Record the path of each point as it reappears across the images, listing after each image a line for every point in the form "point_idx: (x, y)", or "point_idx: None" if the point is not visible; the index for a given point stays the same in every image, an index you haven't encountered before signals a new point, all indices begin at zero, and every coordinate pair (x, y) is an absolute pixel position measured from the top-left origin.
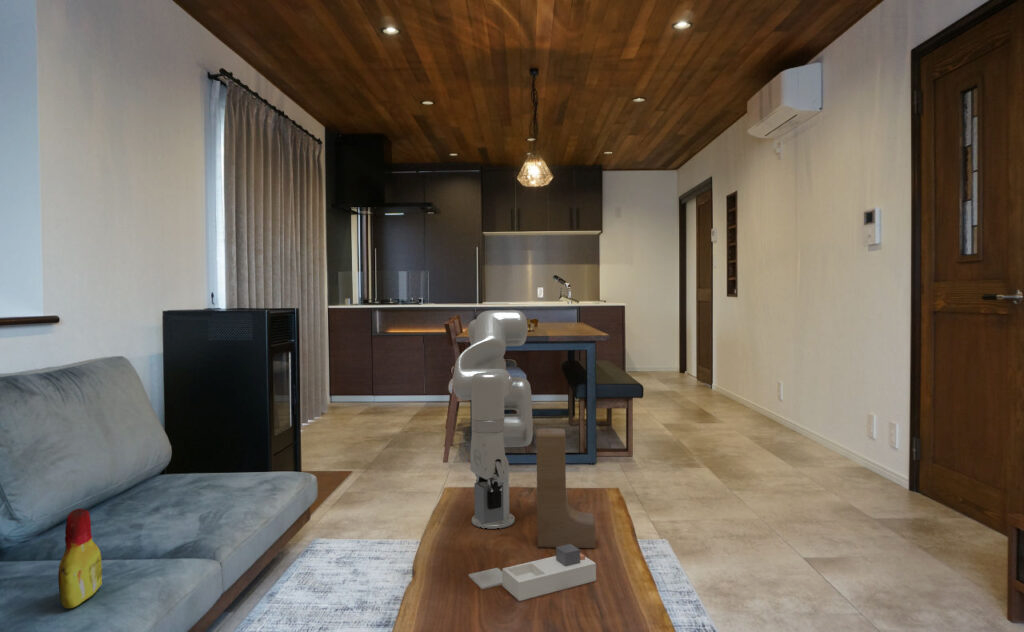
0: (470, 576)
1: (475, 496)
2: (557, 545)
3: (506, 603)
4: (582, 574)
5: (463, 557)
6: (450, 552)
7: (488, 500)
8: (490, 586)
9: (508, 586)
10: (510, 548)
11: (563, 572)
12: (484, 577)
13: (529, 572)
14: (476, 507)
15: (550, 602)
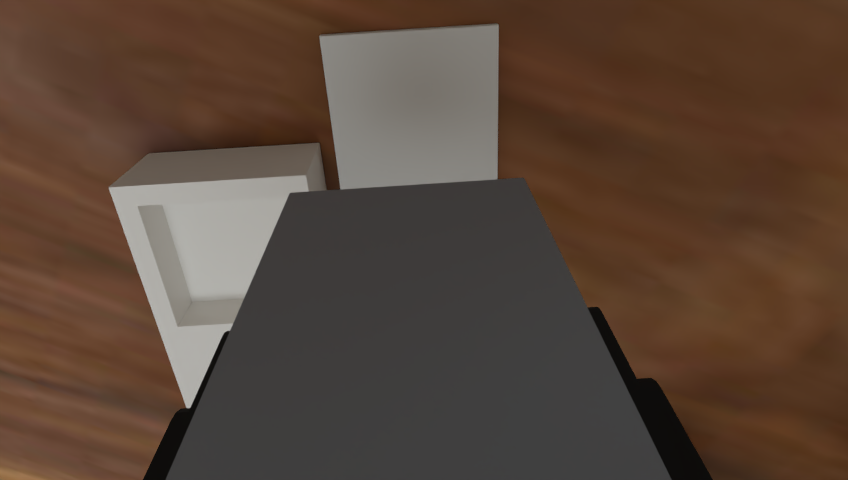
0: (471, 26)
1: (554, 323)
2: None
3: (141, 91)
4: None
5: (731, 83)
6: (843, 37)
7: (188, 414)
8: (326, 85)
9: (249, 154)
10: (670, 316)
11: (182, 390)
12: (422, 91)
13: None
14: (489, 238)
15: (109, 259)
